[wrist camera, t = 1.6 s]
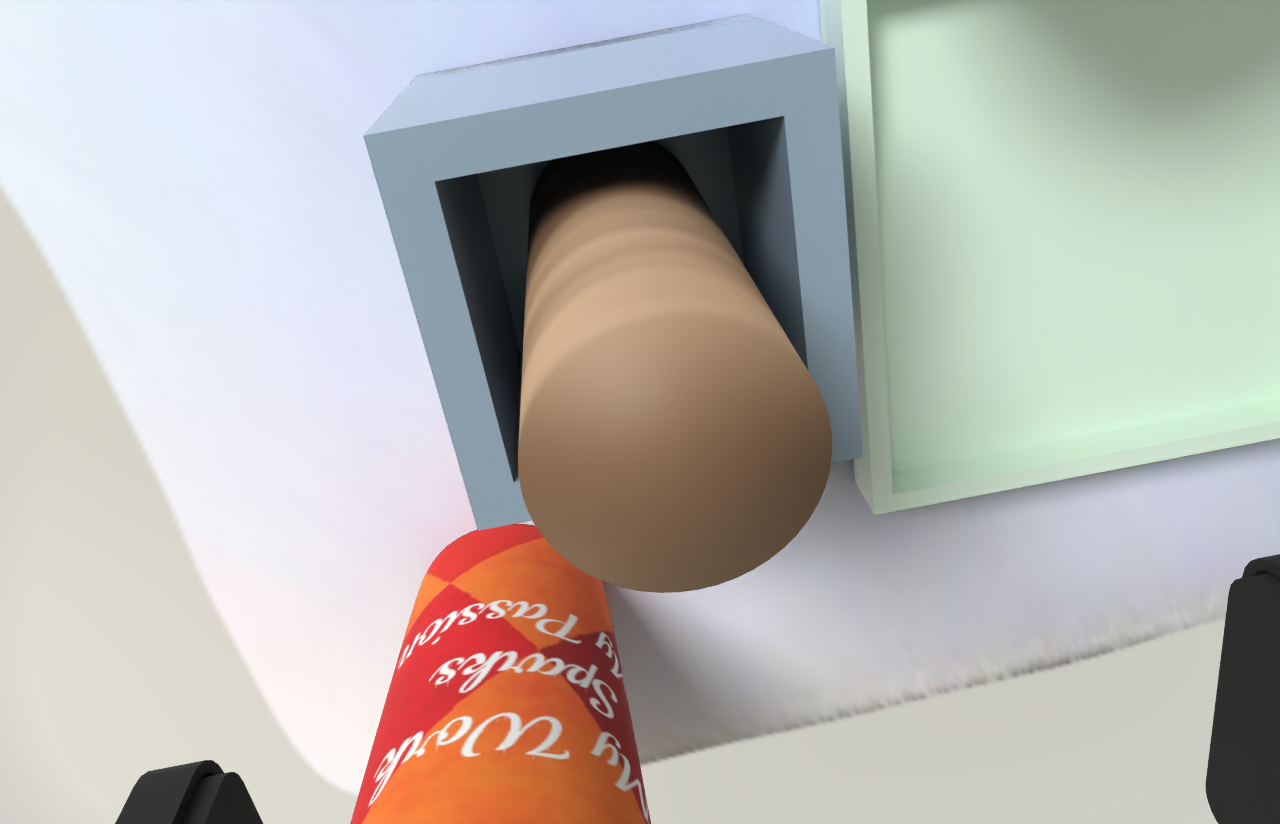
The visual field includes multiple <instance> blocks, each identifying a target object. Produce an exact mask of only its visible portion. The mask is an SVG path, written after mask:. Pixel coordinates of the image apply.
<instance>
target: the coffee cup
mask: <svg viewBox="0 0 1280 824" xmlns="http://www.w3.org/2000/svg"><path fill="white" fill-rule="evenodd" d="M351 824H651V821H650V816H649V811H648V805H647V800H646V795H645V789H644V785H643V779H642V774H641V768H640V763H639V758H638V753H637V747H636V742H635V737H634V732H633V727H632V721H631V716H630V711H629V706H628V701H627V696H626V690H625V685H624V680H623V675H622V670H621V665H620V660H619V655H618V650H617V645H616V640H615V635H614V630H613V625H612V620H611V616H610V611H609V607H608V602H607V598H606V594H605V591H604V587H603V584H602V580H600V579H597V578H595V577H593V576H591V575H588V574H587V573H585V572H583V571H582V570H580V569H578V568H577V567H575V566H574V565H572V564H571V563H570V562H568V561H567V560H566V559H565V558H563V557H562V556H561V555H560V554H558V553H557V552H556V551H555V549H554V548H553V547H552V546H551V545H550V544H549V543H548V542H547V541H546V540H545V538H544V537H543V536H542V534H541V533H540V531H539V530H538V529H537V527H536V526H533V525H527V524H510V525H505V526H500V527H495V528H489V529H484V530H479V531H478V529H477V530H475V531H472V532H470V533H468V534H465V535H463V536H462V537H460V538H458V539H456V540H455V541H453V542H452V543H451V544H449V545H448V546H447V547H446V548H445V549H444V550H442V551H441V552H440V554H439V555H438V556H437V557H436V558H435V560H434V561H433V562H432V564H431V565H430V567H429V569H428V571H427V573H426V575H425V577H424V579H423V582H422V584H421V587H420V590H419V592H418V595H417V598H416V601H415V604H414V608H413V611H412V614H411V617H410V620H409V623H408V627H407V630H406V634H405V637H404V640H403V644H402V647H401V650H400V654H399V657H398V660H397V664H396V667H395V671H394V674H393V678H392V681H391V684H390V688H389V691H388V695H387V698H386V702H385V705H384V709H383V712H382V715H381V719H380V722H379V726H378V729H377V733H376V736H375V740H374V743H373V747H372V750H371V754H370V757H369V761H368V764H367V768H366V771H365V775H364V778H363V782H362V785H361V789H360V792H359V796H358V799H357V803H356V806H355V810H354V813H353V817H352V820H351Z"/></svg>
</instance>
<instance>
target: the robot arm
mask: <svg viewBox="0 0 1280 824" xmlns="http://www.w3.org/2000/svg"><path fill="white" fill-rule="evenodd" d="M1206 794H1207V799H1208V802H1209V805H1210V808H1211V811H1212V813H1213V815H1214V817H1215V819H1216V821H1217V822H1218V824H1280V554H1279V555H1274V556H1268V557H1263V558H1258V559H1255V560H1252V561H1250V562H1249V563H1248V565H1247V566H1246V567H1245V569H1244V573H1243V576H1242V578H1240V579H1237V580H1235V581H1234V582H1233V583H1232V584H1231V587H1230V590H1229V595H1228V604H1227V612H1226V620H1225V628H1224V637H1223V645H1222V653H1221V662H1220V670H1219V678H1218V687H1217V694H1216V703H1215V711H1214V719H1213V727H1212V737H1211V744H1210V752H1209V760H1208V769H1207V777H1206ZM115 824H263V822H262V820H261V818H260V816H259V814H258V812H257V810H256V808H255V806H254V803H253V801H252V799H251V797H250V795H249V793H248V791H247V789H246V786H245V784H244V782H243V781H242V779H241V778H240V776H239V775H238V774H236V773H235V772H229V773H224V772H223V771H222V769H221V768H220V766H219V765H218V764H217V763H215V762H214V761H212V760H205V761H200V762H195V763H189V764H184V765H179V766H174V767H169V768H164V769H158V770H153V771H148V772H147V773H145V774H144V775H142V776H141V777H140V778H139V780H138V781H137V783H136V784H135V786H134V787H133V789H132V791H131V793H130V795H129V798H128V799H127V801H126V803H125V805H124V808H123V809H122V812H121V814H120V816H119V817H118V819H117V822H116V823H115Z"/></svg>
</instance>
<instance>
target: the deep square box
mask: <svg viewBox="0 0 1280 824" xmlns="http://www.w3.org/2000/svg"><path fill="white" fill-rule="evenodd" d="M363 136H364V140H365V143H366V147H367V150H368V153H369V157H370V160H371V164H372V167H373V171H374V174H375V178H376V181H377V184H378V188H379V191H380V195H381V198H382V202H383V205H384V209H385V212H386V215H387V219H388V222H389V226H390V229H391V233H392V236H393V240H394V243H395V246H396V250H397V253H398V257H399V260H400V264H401V267H402V270H403V274H404V277H405V281H406V284H407V288H408V291H409V295H410V298H411V301H412V305H413V308H414V312H415V315H416V319H417V322H418V326H419V329H420V332H421V336H422V339H423V343H424V346H425V350H426V353H427V357H428V360H429V363H430V367H431V370H432V374H433V377H434V381H435V384H436V387H437V391H438V394H439V398H440V401H441V405H442V408H443V412H444V415H445V418H446V422H447V425H448V429H449V432H450V436H451V439H452V443H453V446H454V449H455V453H456V456H457V460H458V463H459V467H460V470H461V473H462V477H463V480H464V484H465V487H466V491H467V494H468V498H469V501H470V504H471V508H472V511H473V515H474V518H475V522H476V525H477V529H478V531H479V530H484V529H489V528H495V527H500V526H505V525H510V524H516V523H521V522H526V521H531V520H532V518H531V516H530V514H529V512H528V510H527V507H526V504H525V502H524V499H523V496H522V492H521V487H520V481H519V475H518V447H519V426H520V405H521V383H522V362H523V340H524V319H525V298H526V276H527V255H528V234H529V212H530V204H531V198H532V194H533V191H534V188H535V186H536V183H537V181H538V179H539V177H540V175H541V173H542V172H543V170H544V169H545V167H546V166H547V165H548V163H549V162H550V161H551V160H552V159H557V158H562V157H567V156H573V155H578V154H583V153H589V152H594V151H599V150H605V149H610V148H615V147H621V146H626V145H631V144H637V143H642V142H647V141H655V142H657V143H658V144H660V145H661V146H663V147H665V148H666V149H667V150H668V151H669V152H671V153H672V154H673V155H674V156H675V157H676V158H677V159H678V160H679V161H680V163H681V164H682V165H683V167H684V168H685V170H686V171H687V173H688V174H689V176H690V178H691V179H692V181H693V182H694V184H695V186H696V187H697V189H698V191H699V192H700V194H701V196H702V197H703V199H704V201H705V202H706V204H707V205H708V207H709V209H710V210H711V212H712V214H713V215H714V217H715V219H716V220H717V222H718V224H719V225H720V227H721V229H722V230H723V232H724V233H725V235H726V237H727V238H728V240H729V242H730V243H731V245H732V247H733V248H734V250H735V252H736V253H737V255H738V256H739V258H740V260H741V261H742V263H743V265H744V266H745V268H746V270H747V271H748V273H749V275H750V276H751V278H752V279H753V281H754V283H755V284H756V286H757V288H758V289H759V291H760V293H761V294H762V296H763V298H764V299H765V301H766V303H767V304H768V306H769V307H770V309H771V311H772V312H773V314H774V316H775V317H776V319H777V321H778V322H779V324H780V326H781V327H782V329H783V330H784V332H785V334H786V335H787V337H788V339H789V340H790V342H791V344H792V345H793V347H794V349H795V350H796V352H797V353H798V355H799V357H800V358H801V360H802V362H803V363H804V365H805V367H806V368H807V370H808V372H809V373H810V375H811V377H812V378H813V380H814V381H815V383H816V385H817V387H818V389H819V391H820V393H821V395H822V397H823V399H824V402H825V405H826V408H827V411H828V414H829V419H830V425H831V431H832V458H831V463H836V462H841V461H847V460H852V459H857V458H862V457H863V450H862V436H861V421H860V407H859V392H858V378H857V363H856V349H855V334H854V320H853V305H852V291H851V276H850V262H849V247H848V233H847V218H846V204H845V189H844V175H843V160H842V146H841V131H840V117H839V102H838V88H837V73H836V59H835V47H832V46H830V45H827V44H825V43H822V42H820V41H817V40H814V39H812V38H809V37H807V36H804V35H801V34H799V33H796V32H794V31H791V30H789V29H786V28H783V27H781V26H778V25H776V24H773V23H771V22H768V21H765V20H763V19H760V18H758V17H755V16H752V15H750V14H744V15H739V16H734V17H728V18H723V19H718V20H712V21H707V22H702V23H696V24H691V25H685V26H680V27H675V28H669V29H664V30H659V31H653V32H648V33H643V34H637V35H632V36H627V37H621V38H616V39H611V40H605V41H600V42H595V43H589V44H584V45H578V46H573V47H568V48H562V49H557V50H552V51H546V52H541V53H536V54H530V55H525V56H520V57H514V58H509V59H504V60H498V61H493V62H487V63H482V64H477V65H471V66H466V67H461V68H455V69H450V70H445V71H439V72H434V73H429V74H423V75H418V76H416V77H415V78H414V79H413V80H412V82H411V83H410V84H409V85H408V86H407V87H406V88H405V89H404V90H403V92H402V93H401V94H400V95H399V96H398V97H397V98H396V99H395V101H394V102H393V103H392V104H391V105H390V106H389V107H388V108H387V110H386V111H385V112H384V113H383V114H382V115H381V116H380V117H379V119H378V120H377V121H376V122H375V123H374V124H373V125H372V126H371V128H370V129H369V130H368V131H367V132H366V133H365V134H364V135H363Z"/></svg>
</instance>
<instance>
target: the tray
mask: <svg viewBox="0 0 1280 824" xmlns="http://www.w3.org/2000/svg"><path fill="white" fill-rule="evenodd" d="M819 9H820V23H821V36H822V43H825V44H827V45H830V46H832V47H835V59H836V73H837V88H838V102H839V117H840V131H841V146H842V160H843V175H844V189H845V204H846V218H847V233H848V247H849V262H850V276H851V291H852V305H853V320H854V334H855V349H856V363H857V378H858V392H859V407H860V421H861V436H862V450H863V457H862V458H857V459H853V466H854V479H855V483H856V485H857V486H858V488H859V490H860V492H861V493H862V495H863V497H864V499H865V500H866V502H867V504H868V506H869V507H870V509H871V511H872V513H873V514H874V515H879V514H884V513H890V512H895V511H900V510H905V509H911V508H916V507H921V506H926V505H932V504H937V503H942V502H947V501H953V500H958V499H963V498H968V497H974V496H979V495H984V494H989V493H994V492H1000V491H1005V490H1010V489H1015V488H1021V487H1026V486H1031V485H1036V484H1042V483H1047V482H1052V481H1057V480H1063V479H1068V478H1073V477H1078V476H1084V475H1089V474H1094V473H1099V472H1105V471H1110V470H1115V469H1120V468H1126V467H1131V466H1136V465H1141V464H1147V463H1152V462H1157V461H1162V460H1167V459H1173V458H1178V457H1183V456H1188V455H1194V454H1199V453H1204V452H1209V451H1215V450H1220V449H1225V448H1230V447H1236V446H1241V445H1246V444H1251V443H1257V442H1262V441H1267V440H1272V439H1278V438H1280V0H819Z"/></svg>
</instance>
